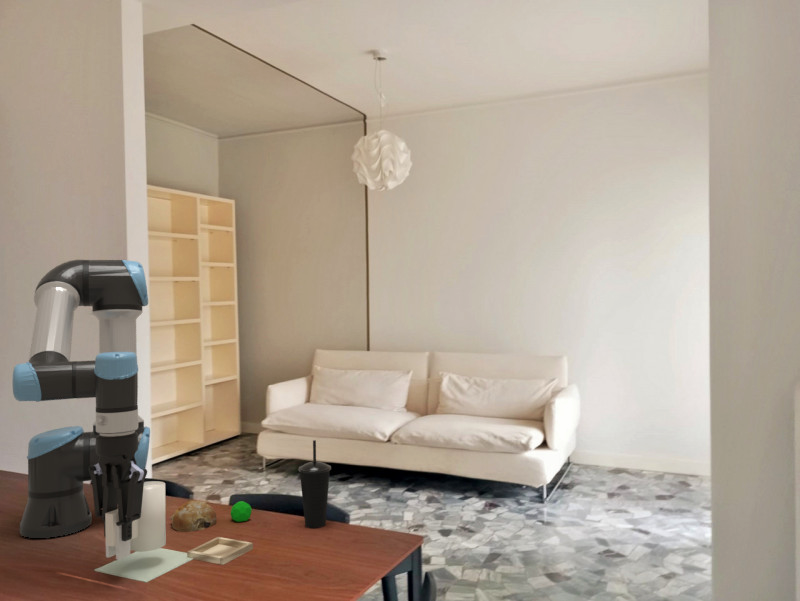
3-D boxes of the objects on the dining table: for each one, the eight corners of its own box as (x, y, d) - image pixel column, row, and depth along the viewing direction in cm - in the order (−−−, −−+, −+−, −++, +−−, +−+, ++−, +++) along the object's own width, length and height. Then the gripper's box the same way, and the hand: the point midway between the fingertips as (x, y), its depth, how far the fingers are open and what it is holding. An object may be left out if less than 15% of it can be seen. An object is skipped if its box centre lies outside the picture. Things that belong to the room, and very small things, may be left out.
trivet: (94, 573, 126) (94, 569, 126) (149, 548, 139) (149, 545, 139) (146, 585, 120) (146, 581, 120) (199, 558, 133) (199, 555, 133)
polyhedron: (227, 521, 156) (227, 501, 156) (245, 517, 160) (245, 497, 160) (236, 526, 152) (236, 506, 153) (255, 522, 156) (255, 502, 156)
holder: (187, 560, 132) (187, 551, 132) (218, 544, 141) (218, 536, 141) (223, 567, 128) (223, 558, 128) (253, 550, 137) (252, 542, 137)
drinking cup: (325, 531, 148) (324, 444, 149) (294, 529, 150) (293, 443, 150) (335, 520, 156) (334, 437, 156) (305, 518, 157) (304, 436, 158)
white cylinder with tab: (148, 537, 134) (148, 479, 134) (173, 542, 131) (172, 483, 132) (96, 559, 123) (96, 496, 123) (122, 564, 120) (121, 499, 120)
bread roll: (185, 551, 147) (195, 522, 145) (158, 525, 152) (167, 496, 150) (218, 538, 156) (228, 510, 154) (192, 513, 161) (201, 486, 159)
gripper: (72, 433, 123) (73, 557, 123) (129, 438, 117) (131, 569, 116) (105, 427, 130) (106, 544, 130) (161, 431, 124) (162, 554, 123)
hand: (118, 555), depth 123 cm, fingers closed on white cylinder with tab, 2 cm apart
